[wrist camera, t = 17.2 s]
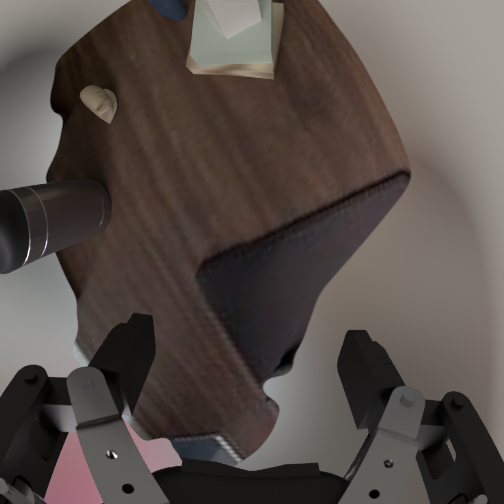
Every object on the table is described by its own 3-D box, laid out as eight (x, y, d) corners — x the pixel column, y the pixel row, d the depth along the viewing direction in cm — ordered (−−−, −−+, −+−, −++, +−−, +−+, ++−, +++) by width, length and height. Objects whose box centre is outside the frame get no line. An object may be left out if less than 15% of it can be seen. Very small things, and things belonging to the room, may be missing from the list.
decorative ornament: (101, 82, 35) (81, 74, 30) (131, 108, 36) (111, 102, 30) (86, 102, 36) (66, 97, 31) (114, 130, 37) (94, 126, 32)
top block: (199, 66, 30) (190, 55, 26) (204, 12, 28) (196, -2, 24) (272, 63, 29) (270, 50, 25) (272, 8, 27) (271, -8, 23)
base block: (194, 75, 34) (185, 65, 30) (209, 13, 31) (202, 1, 27) (274, 80, 33) (272, 70, 29) (284, 17, 30) (283, 3, 26)
